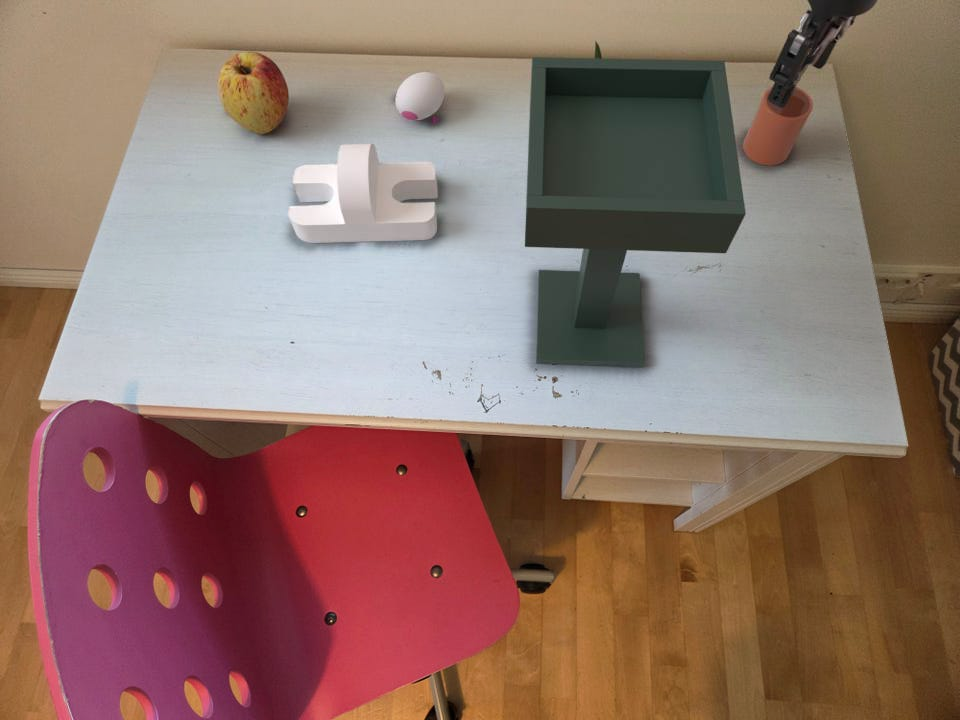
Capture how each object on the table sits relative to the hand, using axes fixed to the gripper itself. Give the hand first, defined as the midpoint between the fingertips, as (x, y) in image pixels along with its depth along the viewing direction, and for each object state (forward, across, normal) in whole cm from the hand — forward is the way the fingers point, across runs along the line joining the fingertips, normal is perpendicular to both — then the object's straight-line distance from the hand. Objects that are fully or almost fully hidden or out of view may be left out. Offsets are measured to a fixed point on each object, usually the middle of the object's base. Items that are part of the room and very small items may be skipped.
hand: (795, 83), depth 83 cm
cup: (+11, 0, 0) cm, 11 cm away
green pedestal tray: (+11, -36, +1) cm, 38 cm away
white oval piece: (+11, -25, +40) cm, 49 cm away
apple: (+11, -41, +55) cm, 69 cm away
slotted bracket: (+11, -42, +32) cm, 54 cm away
